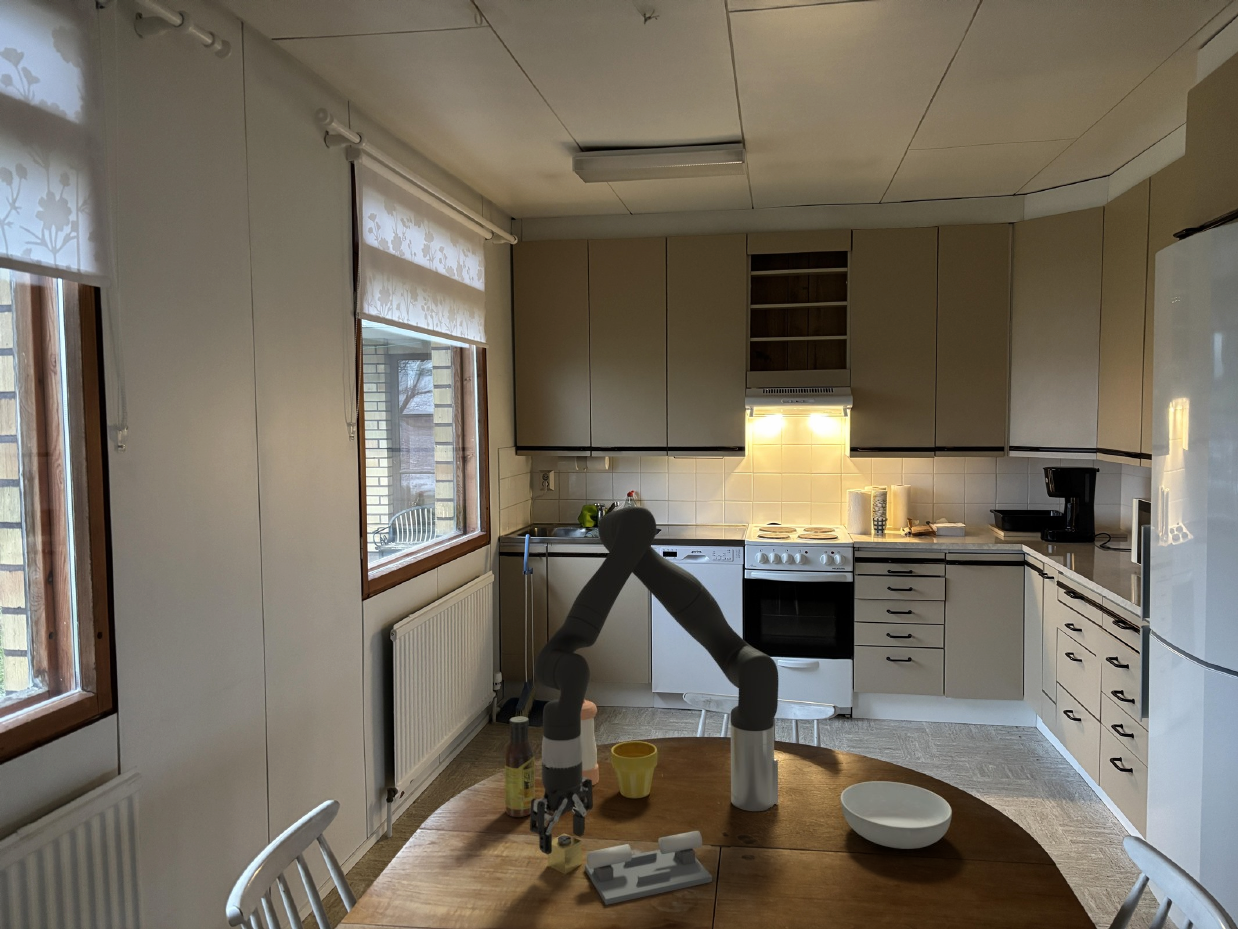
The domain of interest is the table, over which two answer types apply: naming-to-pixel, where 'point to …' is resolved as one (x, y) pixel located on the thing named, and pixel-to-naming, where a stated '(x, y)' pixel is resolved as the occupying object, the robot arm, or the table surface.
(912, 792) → the serving bowl
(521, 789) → the sauce bottle
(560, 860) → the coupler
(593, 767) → the pepper shaker
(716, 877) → the table surface
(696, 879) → the twin roller base
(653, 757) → the plant pot
